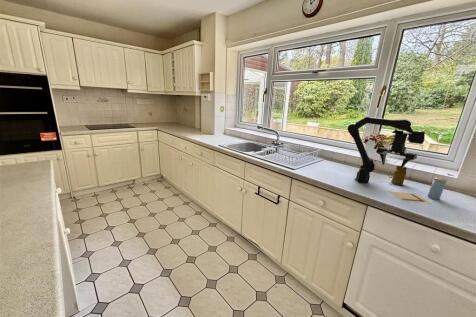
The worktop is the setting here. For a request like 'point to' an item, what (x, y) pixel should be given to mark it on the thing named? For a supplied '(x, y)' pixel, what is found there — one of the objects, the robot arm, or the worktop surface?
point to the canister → (436, 188)
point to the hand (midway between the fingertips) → (391, 166)
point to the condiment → (399, 176)
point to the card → (409, 197)
